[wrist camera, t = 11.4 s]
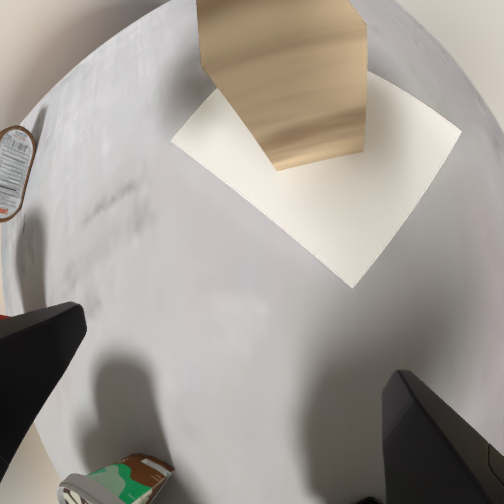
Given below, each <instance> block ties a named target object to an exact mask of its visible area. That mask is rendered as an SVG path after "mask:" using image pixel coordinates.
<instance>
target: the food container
mask: <svg viewBox="0 0 504 504" xmlns="http://www.w3.org/2000/svg"><path fill="white" fill-rule="evenodd" d="M174 470H175V469H174V468H172V467H171V466H169V465H168V464H166V463H165V462H163V461H160V460H158V459H156V458H154V457H152V456H148V455H145V454H132V455H130V456H128V457H126V458H124V459H122V460H120V461H118V462H115V463H113V464H111V465H109V466H107V467H105V468H102V469H100V470H98V471H96V472H93V473H91V474H89V475H86V476H84V475H80V474H74V473H73V474H70V475H69V476H68V477H67V478H66V479H65V480H64V481H63V482H61V484H60V486H59V488H58V489H57V491H56V493H57V498H58V501H59V504H151V503H152V502H153V500H154V499H155V497H156V496H157V495H158V493H159V492H160V490H161V489H162V488H163V486H164V485H165V483H166V482H167V481H168V479H169V478H170V476H171V475H172V473H173V472H174Z"/></svg>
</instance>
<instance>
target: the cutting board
mask: <svg viewBox="0 0 504 504" xmlns="http://www.w3.org/2000/svg"><path fill="white" fill-rule="evenodd" d="M461 132H462V131H460V130H459V129H458V128H457V127H455V126H454V125H453V124H451V123H450V122H449V121H447V120H446V119H445V118H443V117H442V116H441V115H439V114H438V113H436V112H435V111H434V110H432V109H431V108H429V107H428V106H426V105H425V104H423V103H422V102H421V101H419V100H417V99H416V98H414V97H413V96H411V95H410V94H408V93H406V92H405V91H403V90H402V89H400V88H398V87H397V86H395V85H393V84H391V83H390V82H388V81H386V80H384V79H383V78H381V77H379V76H377V75H375V74H373V73H372V72H370V71H368V70H367V103H366V123H365V138H364V150H363V152H360V153H355V154H350V155H345V156H340V157H336V158H331V159H327V160H322V161H318V162H313V163H309V164H305V165H301V166H297V167H293V168H289V169H285V170H281V171H276V169H275V168H274V166H273V165H272V163H271V162H270V160H269V159H268V157H267V156H266V154H265V153H264V151H263V150H262V148H261V147H260V146H259V144H258V143H257V141H256V140H255V138H254V137H253V135H252V134H251V133H250V131H249V130H248V128H247V127H246V126H245V124H244V123H243V121H242V120H241V119H240V117H239V116H238V114H237V113H236V112H235V110H234V109H233V108H232V106H231V105H230V104H229V102H228V101H227V99H226V98H225V97H224V95H223V94H222V93H221V91H220V90H219V89H218V87H217V88H216V89H215V90H214V91H213V92H212V93H211V94H210V95H209V96H208V98H207V99H206V100H205V101H204V102H203V103H202V104H201V105H200V106H199V108H198V109H197V110H196V111H195V112H194V113H193V114H192V116H191V117H190V118H189V119H188V120H187V121H186V123H185V124H184V125H183V126H182V127H181V129H180V130H179V131H178V132H177V134H176V135H175V136H174V137H173V138H172V140H171V142H173V143H174V144H175V145H177V146H178V147H179V148H181V149H182V150H183V151H185V152H186V153H187V154H188V155H190V156H191V157H192V158H194V159H195V160H196V161H198V162H199V163H200V164H202V165H203V166H204V167H205V168H207V169H208V170H209V171H211V172H212V173H213V174H214V175H216V176H217V177H218V178H220V179H221V180H222V181H223V182H225V183H226V184H227V185H228V186H230V187H231V188H232V189H234V190H235V191H236V192H237V193H239V194H240V195H241V196H242V197H244V198H245V199H246V200H247V201H249V202H250V203H251V204H252V205H254V206H255V207H256V208H257V209H258V210H260V211H261V212H262V213H263V214H265V215H266V216H267V217H268V218H270V219H271V220H272V221H273V222H274V223H276V224H277V225H278V226H279V227H280V228H282V229H283V230H284V231H285V232H287V233H288V234H289V235H290V236H291V237H293V238H294V239H295V240H296V241H297V242H299V243H300V244H301V245H302V246H303V247H304V248H306V249H307V250H308V251H309V252H310V253H312V254H313V255H314V256H315V257H316V258H317V259H319V260H320V261H321V262H322V263H323V264H324V265H326V266H327V267H328V268H329V269H330V270H331V271H333V272H334V273H335V274H336V275H337V276H338V277H339V278H341V279H342V280H343V281H344V282H345V283H346V284H348V285H349V286H350V287H351V288H353V287H354V286H355V285H356V284H357V282H358V281H359V280H360V279H361V278H362V276H363V275H364V274H365V273H366V271H367V270H368V269H369V268H370V267H371V265H372V264H373V263H374V261H375V260H376V259H377V258H378V256H379V255H380V254H381V253H382V251H383V250H384V249H385V247H386V246H387V245H388V243H389V242H390V241H391V239H392V238H393V237H394V235H395V234H396V233H397V231H398V230H399V229H400V227H401V226H402V224H403V223H404V222H405V220H406V219H407V217H408V216H409V215H410V213H411V212H412V210H413V209H414V207H415V206H416V204H417V203H418V202H419V200H420V199H421V197H422V196H423V194H424V193H425V191H426V190H427V188H428V187H429V185H430V184H431V182H432V180H433V179H434V177H435V176H436V174H437V173H438V171H439V169H440V168H441V166H442V164H443V163H444V161H445V160H446V158H447V156H448V155H449V153H450V151H451V150H452V148H453V146H454V144H455V143H456V141H457V139H458V137H459V136H460V134H461Z"/></svg>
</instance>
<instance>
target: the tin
mask: <svg viewBox="0 0 504 504" xmlns="http://www.w3.org/2000/svg"><path fill="white" fill-rule="evenodd" d="M34 156H35V141H34V138H33V136H32V134H31V133H30V132H29V131H28V130H27V129H26V128H24V127H22V126H12V127H9V128H6V129H4V130H2V131H1V132H0V223H1V222H6V221H9V220H10V219H12V218H13V217H14V216H15V215H16V214H17V213H18V211H19V209H20V207H21V205H22V202H23V198H24V193H25V189H26V185H27V181H28V177H29V174H30V170H31V167H32V163H33V160H34Z"/></svg>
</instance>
